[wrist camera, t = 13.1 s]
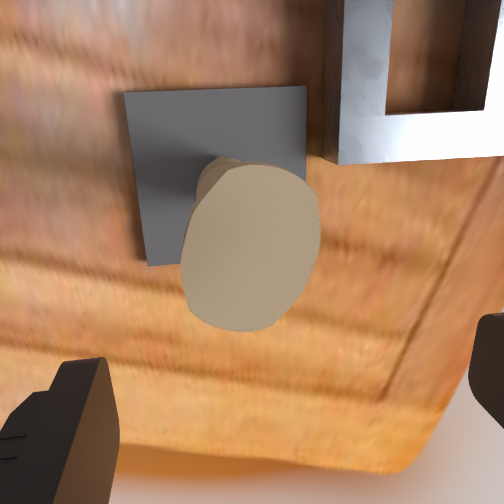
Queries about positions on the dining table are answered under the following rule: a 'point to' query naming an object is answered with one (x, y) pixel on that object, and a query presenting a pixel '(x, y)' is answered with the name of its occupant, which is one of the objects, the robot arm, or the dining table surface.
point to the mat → (205, 148)
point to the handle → (248, 244)
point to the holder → (418, 122)
